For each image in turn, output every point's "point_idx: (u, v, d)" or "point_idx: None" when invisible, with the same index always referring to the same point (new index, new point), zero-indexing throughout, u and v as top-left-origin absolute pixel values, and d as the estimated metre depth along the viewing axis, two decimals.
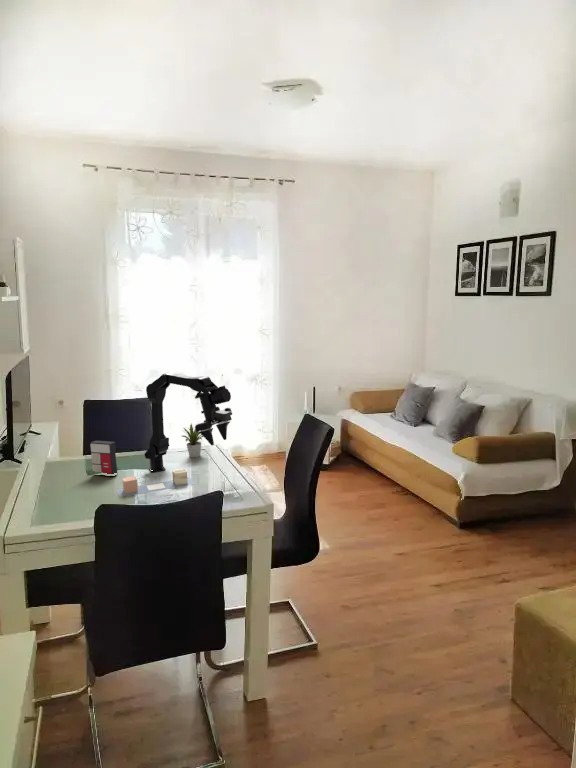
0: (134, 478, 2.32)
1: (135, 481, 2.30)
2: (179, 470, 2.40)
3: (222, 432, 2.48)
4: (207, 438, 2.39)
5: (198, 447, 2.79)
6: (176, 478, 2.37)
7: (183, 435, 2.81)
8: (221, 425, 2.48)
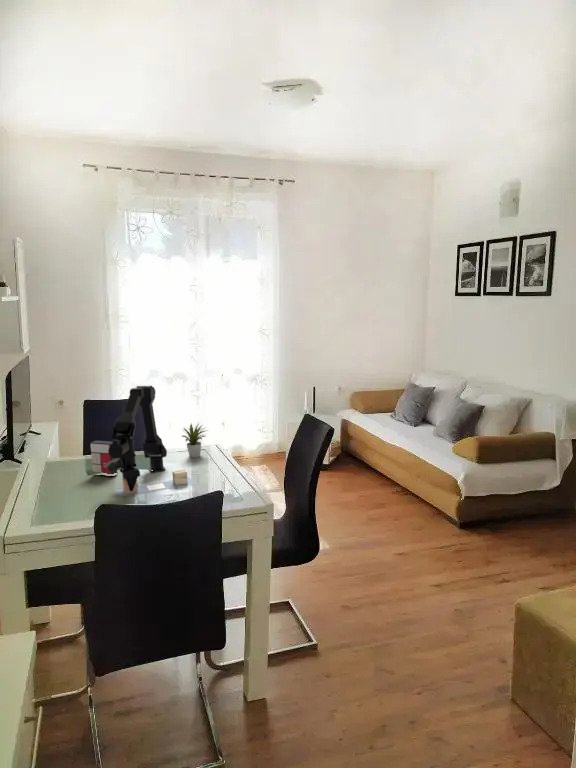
0: None
1: None
2: (179, 470, 2.40)
3: None
4: None
5: (198, 447, 2.79)
6: (176, 478, 2.37)
7: (183, 435, 2.81)
8: None
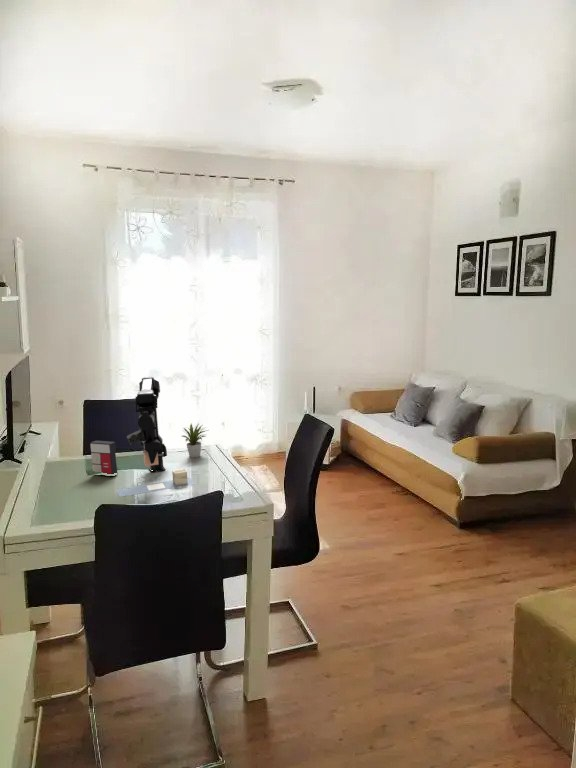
0: None
1: None
2: (179, 470, 2.40)
3: None
4: None
5: (198, 447, 2.79)
6: (176, 478, 2.37)
7: (183, 435, 2.81)
8: None
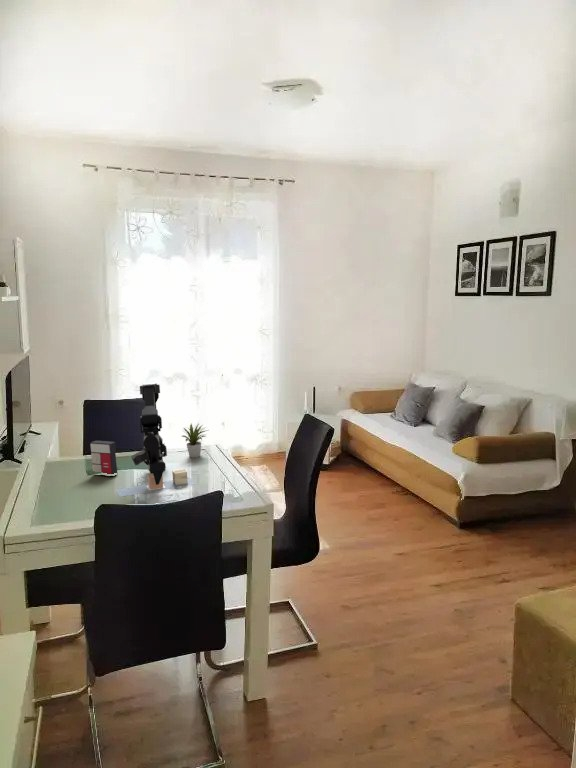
0: None
1: None
2: (179, 470, 2.40)
3: None
4: None
5: (198, 447, 2.79)
6: (176, 478, 2.37)
7: (183, 435, 2.81)
8: None
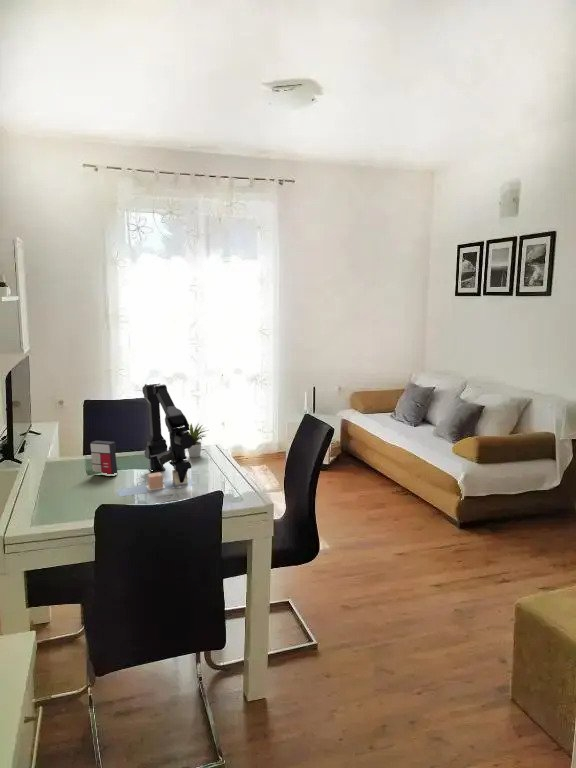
0: (159, 474, 2.36)
1: (160, 477, 2.34)
2: None
3: None
4: None
5: (198, 447, 2.79)
6: (176, 478, 2.37)
7: None
8: None
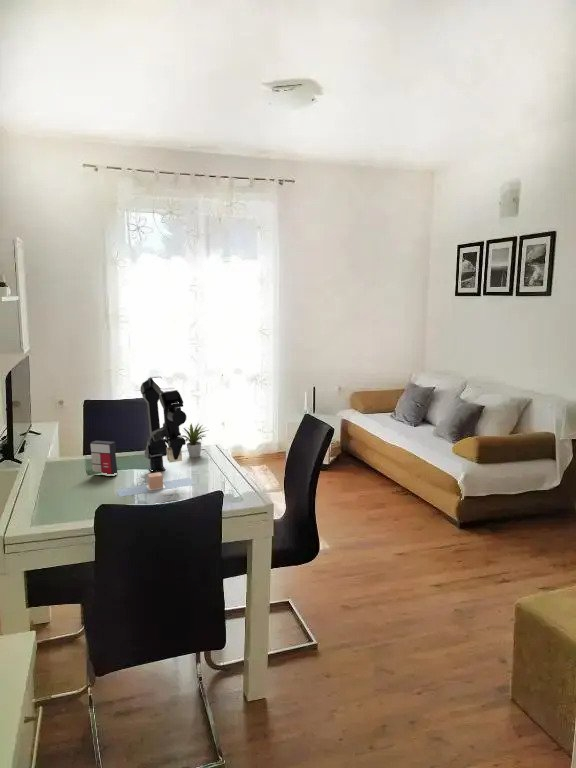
0: (159, 474, 2.36)
1: (160, 477, 2.34)
2: None
3: None
4: None
5: (198, 447, 2.79)
6: (170, 455, 2.34)
7: (183, 435, 2.81)
8: None
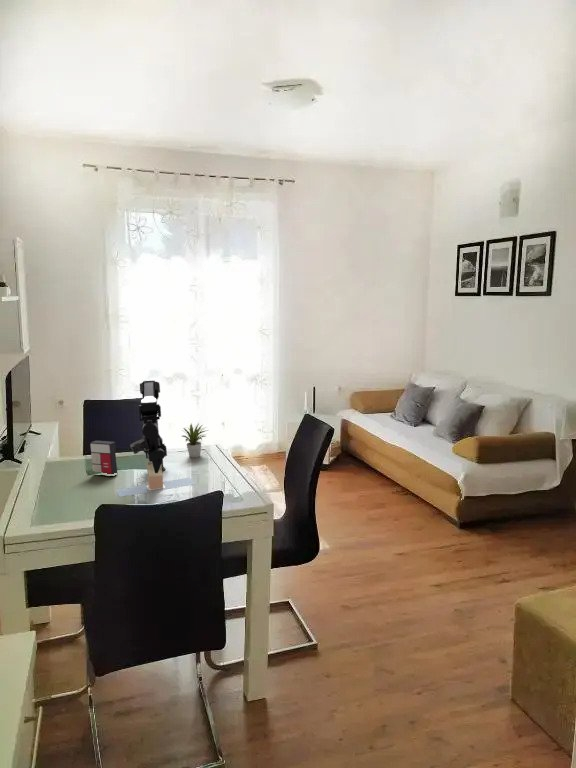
0: None
1: (160, 477, 2.34)
2: None
3: None
4: None
5: (198, 447, 2.79)
6: (150, 470, 2.32)
7: (183, 435, 2.81)
8: None
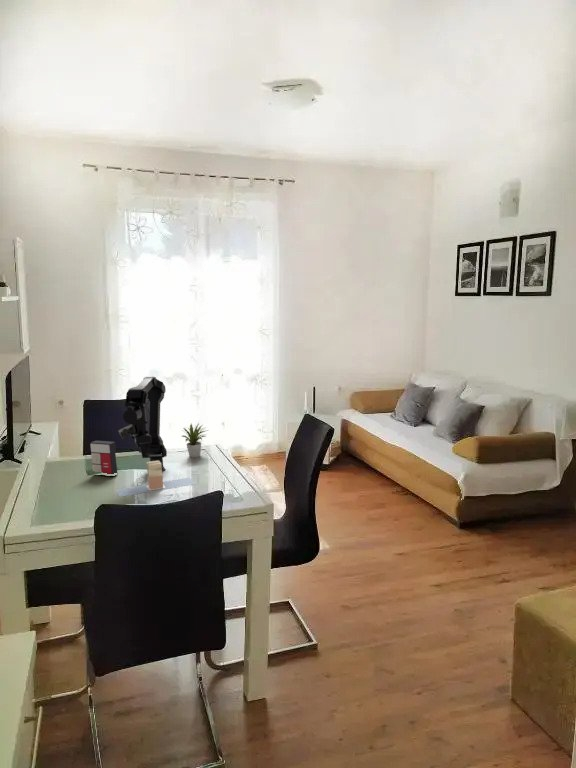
0: None
1: (160, 477, 2.34)
2: (154, 462, 2.36)
3: None
4: None
5: (198, 447, 2.79)
6: (150, 470, 2.32)
7: (183, 435, 2.81)
8: None
